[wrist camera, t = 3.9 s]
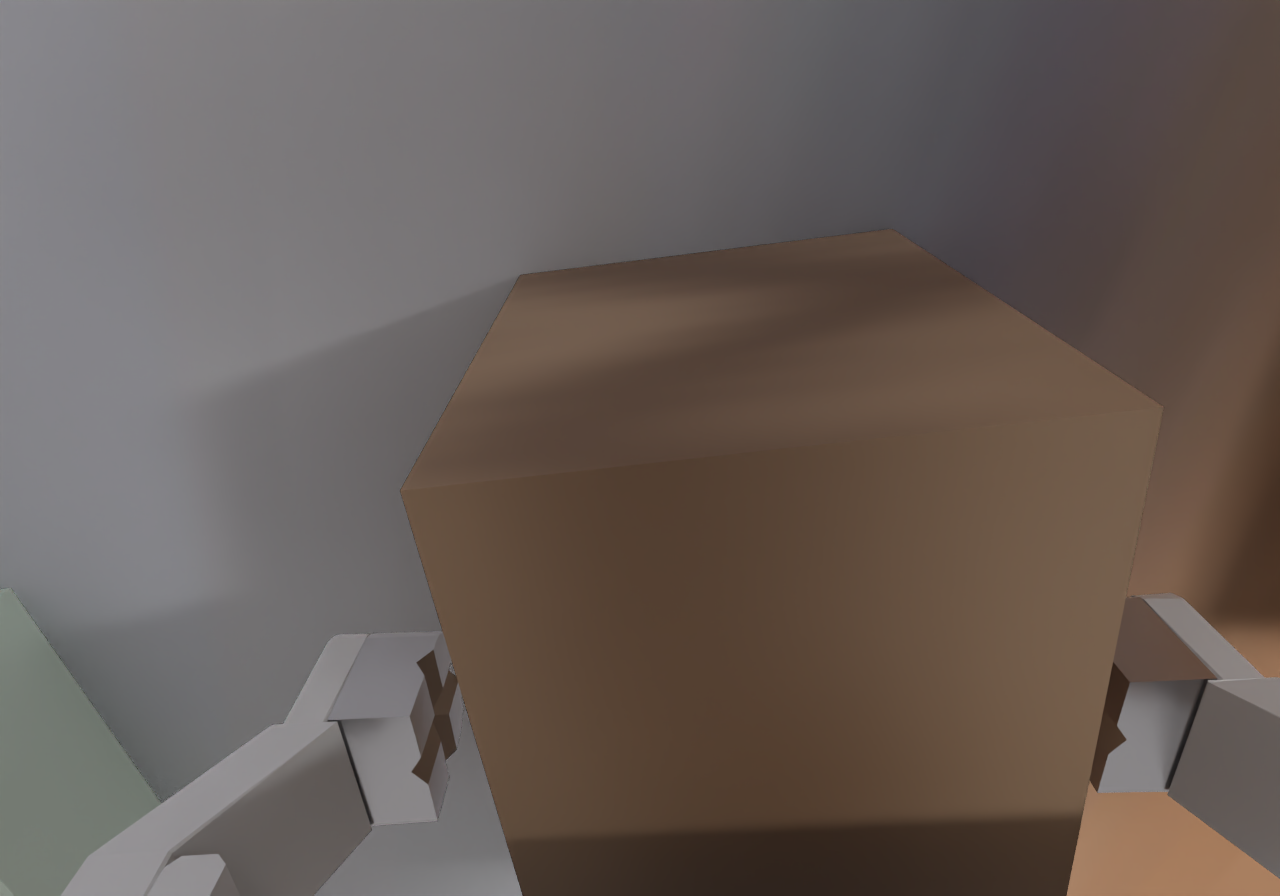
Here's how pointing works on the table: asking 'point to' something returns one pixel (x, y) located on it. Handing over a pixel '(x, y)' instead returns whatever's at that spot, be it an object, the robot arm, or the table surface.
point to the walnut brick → (783, 574)
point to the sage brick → (54, 766)
